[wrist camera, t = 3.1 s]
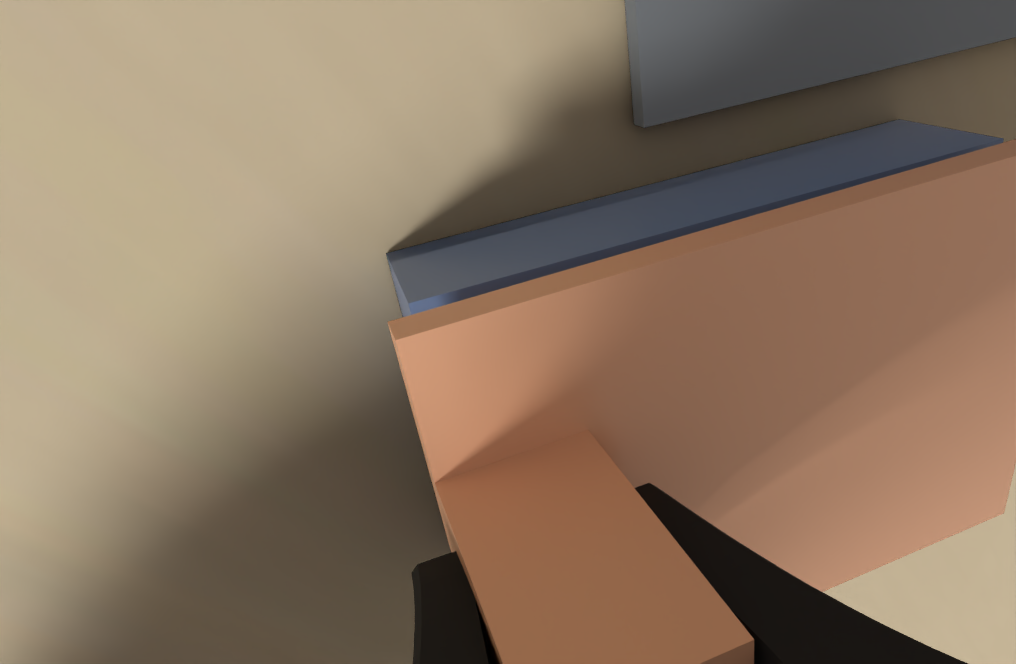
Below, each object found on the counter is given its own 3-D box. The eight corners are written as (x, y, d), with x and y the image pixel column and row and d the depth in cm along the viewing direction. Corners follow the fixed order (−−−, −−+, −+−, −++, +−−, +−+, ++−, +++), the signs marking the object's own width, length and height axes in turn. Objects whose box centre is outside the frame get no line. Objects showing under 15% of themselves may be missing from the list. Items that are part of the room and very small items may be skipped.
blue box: (869, 414, 18) (946, 468, 16) (466, 557, 16) (495, 640, 14) (899, 119, 14) (1003, 138, 12) (385, 253, 12) (408, 303, 10)
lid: (944, 473, 16) (1227, 663, 12) (479, 662, 14) (595, 1001, 9) (1004, 120, 12) (1464, 188, 8) (376, 297, 10) (485, 555, 5)
